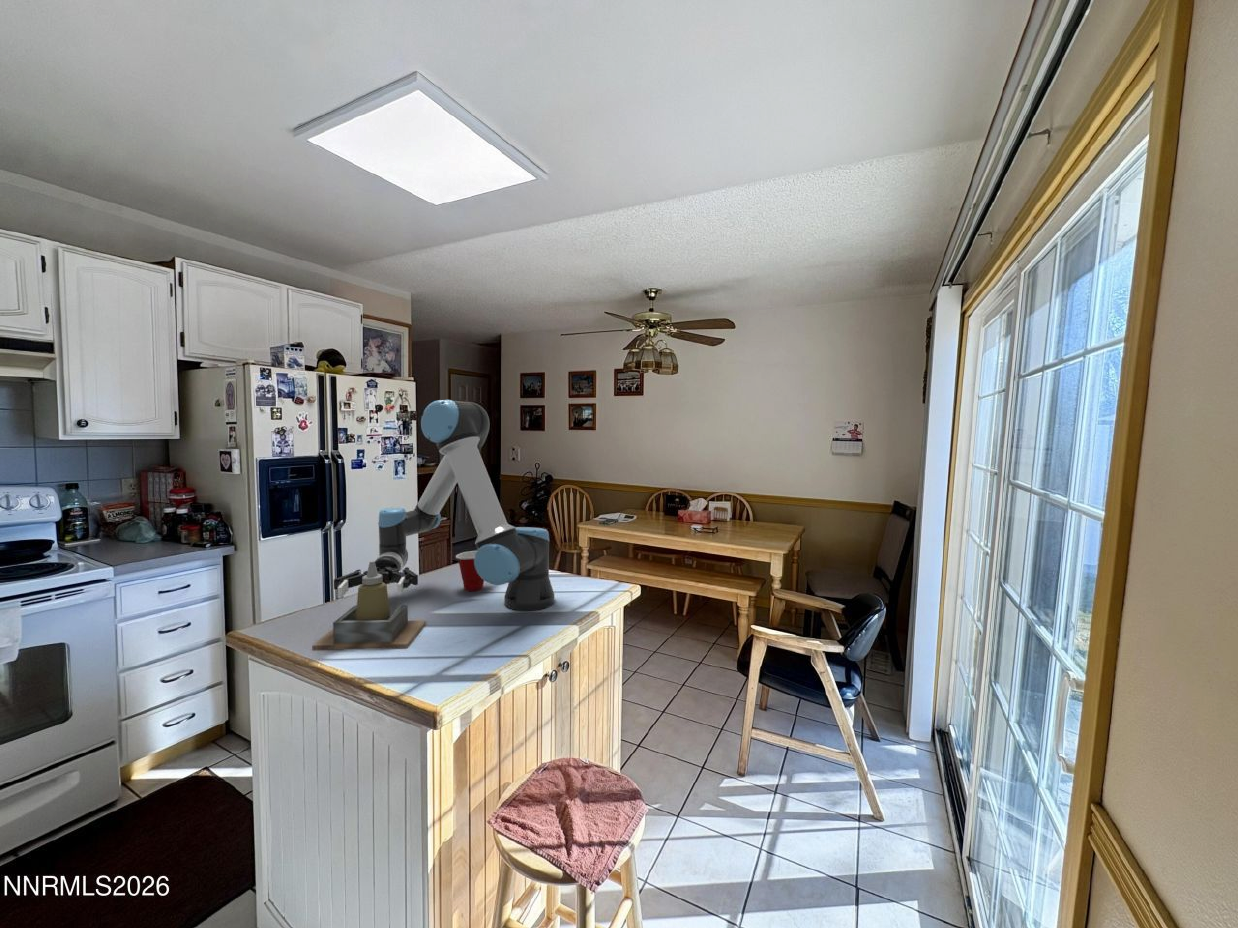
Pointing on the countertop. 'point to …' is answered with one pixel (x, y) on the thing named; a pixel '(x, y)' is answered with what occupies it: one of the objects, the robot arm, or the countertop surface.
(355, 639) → the u rest
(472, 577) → the plastic cup
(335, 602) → the countertop surface
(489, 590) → the countertop surface
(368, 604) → the squeeze bottle
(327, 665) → the countertop surface
